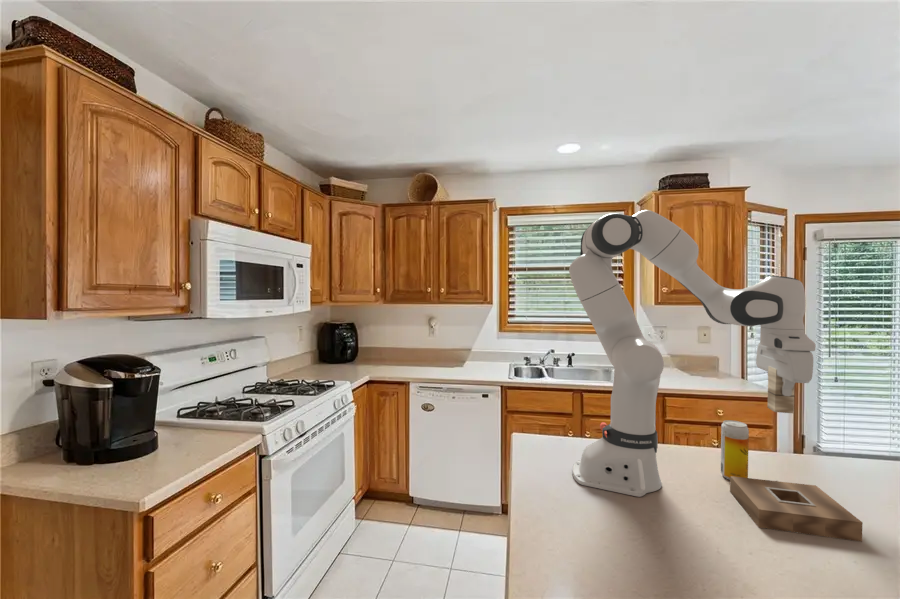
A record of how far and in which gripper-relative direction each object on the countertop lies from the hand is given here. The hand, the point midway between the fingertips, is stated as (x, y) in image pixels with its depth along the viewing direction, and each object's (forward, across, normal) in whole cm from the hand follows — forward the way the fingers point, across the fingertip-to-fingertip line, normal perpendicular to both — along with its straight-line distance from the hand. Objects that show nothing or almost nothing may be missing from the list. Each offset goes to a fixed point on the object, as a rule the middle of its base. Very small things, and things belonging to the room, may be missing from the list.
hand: (780, 392), depth 104 cm
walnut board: (+25, +14, -4) cm, 29 cm away
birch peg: (+5, 0, 0) cm, 5 cm away
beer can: (+25, -3, -9) cm, 27 cm away
